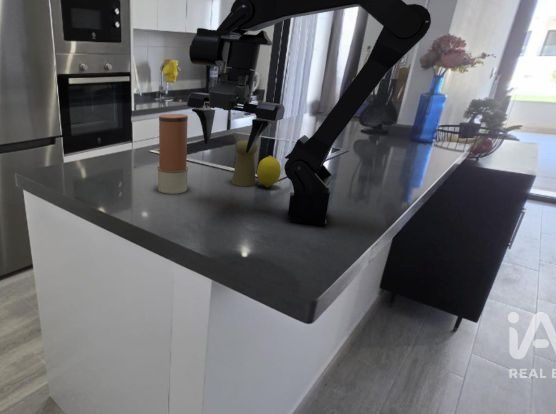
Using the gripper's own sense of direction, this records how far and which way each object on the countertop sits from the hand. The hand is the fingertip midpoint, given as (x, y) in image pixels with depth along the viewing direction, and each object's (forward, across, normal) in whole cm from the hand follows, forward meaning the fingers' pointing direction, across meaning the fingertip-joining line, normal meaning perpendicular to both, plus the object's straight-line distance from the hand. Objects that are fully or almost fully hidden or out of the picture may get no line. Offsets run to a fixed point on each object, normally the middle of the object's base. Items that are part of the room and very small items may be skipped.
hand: (226, 148), depth 79 cm
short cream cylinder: (+14, -14, +5) cm, 20 cm away
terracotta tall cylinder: (+8, -14, +4) cm, 17 cm away
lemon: (+11, +5, +18) cm, 22 cm away
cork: (+12, -1, +19) cm, 22 cm away
